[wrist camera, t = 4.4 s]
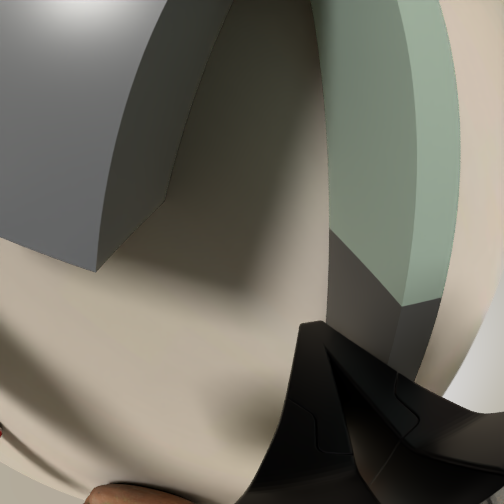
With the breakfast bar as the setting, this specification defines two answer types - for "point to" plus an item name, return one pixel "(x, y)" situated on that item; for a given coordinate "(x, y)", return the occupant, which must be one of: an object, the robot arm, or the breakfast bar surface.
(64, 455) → the breakfast bar surface
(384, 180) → the side door
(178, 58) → the camera case
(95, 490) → the ceramic jug
